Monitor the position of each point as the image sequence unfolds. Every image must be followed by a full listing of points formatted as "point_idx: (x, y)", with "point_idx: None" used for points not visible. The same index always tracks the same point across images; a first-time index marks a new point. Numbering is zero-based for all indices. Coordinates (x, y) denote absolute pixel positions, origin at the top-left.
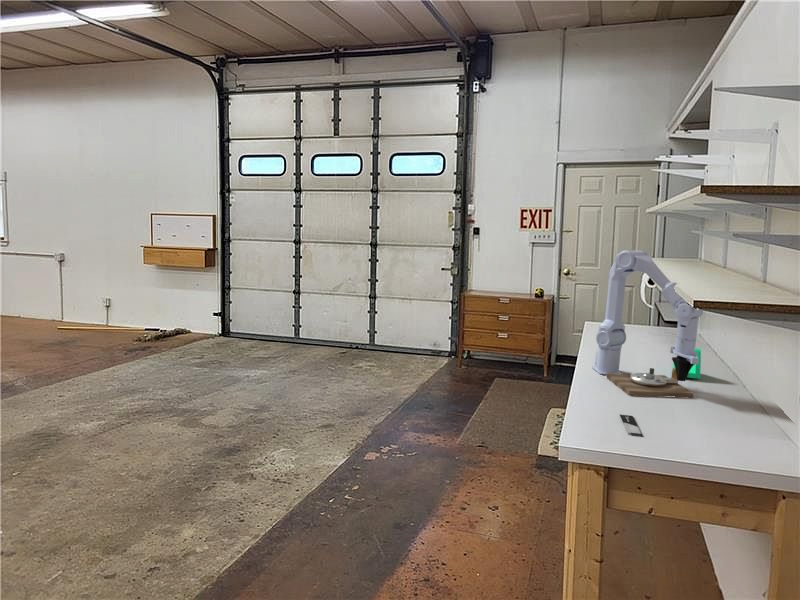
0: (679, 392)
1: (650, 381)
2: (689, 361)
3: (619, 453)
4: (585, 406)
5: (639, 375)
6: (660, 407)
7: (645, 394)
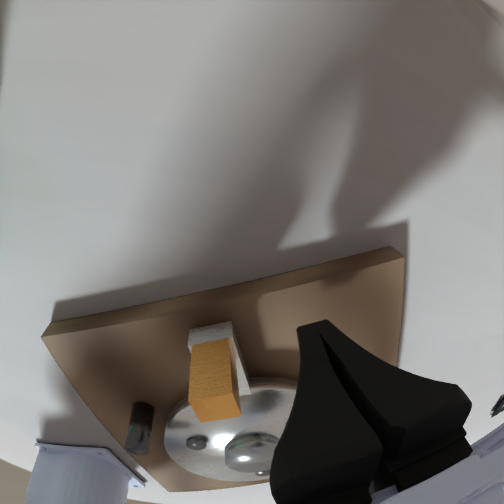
0: (396, 325)
1: None
2: (497, 434)
3: None
4: None
5: (226, 466)
6: (473, 365)
7: None
